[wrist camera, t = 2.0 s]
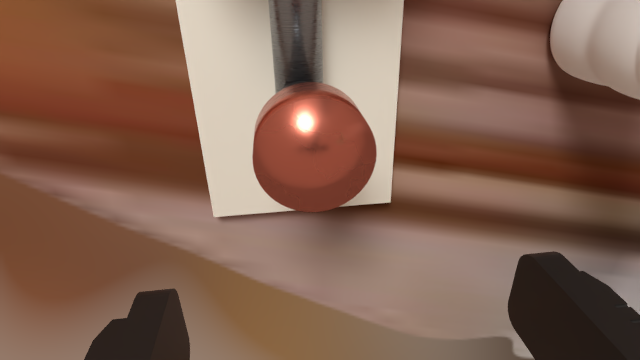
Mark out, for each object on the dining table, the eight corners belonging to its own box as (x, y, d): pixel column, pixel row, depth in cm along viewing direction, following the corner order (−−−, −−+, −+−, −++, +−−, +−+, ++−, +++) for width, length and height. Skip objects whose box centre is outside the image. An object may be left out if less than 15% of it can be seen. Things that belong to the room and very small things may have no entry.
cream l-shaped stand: (129, -291, 18) (16, -499, 10) (415, -284, 19) (525, -463, 11) (215, 209, 30) (196, 299, 22) (387, 195, 31) (428, 276, 23)
